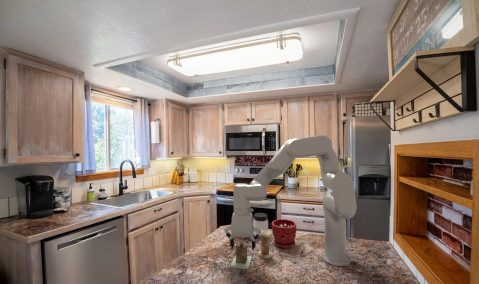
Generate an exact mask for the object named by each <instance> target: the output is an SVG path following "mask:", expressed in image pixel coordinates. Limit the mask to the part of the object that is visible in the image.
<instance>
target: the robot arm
mask: <svg viewBox="0 0 479 284" xmlns="http://www.w3.org/2000/svg"><path fill="white" fill-rule="evenodd" d="M308 157H316V158H317V160H318V164H319V169H320V175H321V182H322V185H323V187H324V188H326V189H328V190H329V191H328V192H327V193H325V194H324V196H323V198H322V209H323V215H324V216H323V217H324V225H323V226H324V251H323V252H322V253H321V256H320V257H321V259H322V260H323V261H324V262H325V263H327V264H329V265H332V266H337V267H347V266H349V265H350V264H351V260H352V259H355V260H358V259H359V255H358V254H357V253H354V252H353V251H348V250H347V249H348V248H347V219H348V220H349V219H351V218H353V217H354V216H355V215H356V212H357V209H358V207H357V198H356V192H355V186H354V185H355V184H354V181H353V179H352V177H351V176H350V175H349V174H348V173H347V172H344V171H341V169H340V163H339V158H338V156H337V153H336V151H335V150H334V149H333V141H332V140H331V138H330V137H329V136H327V135H323V134H320V135H312V136H309V137H308V136H307V137H300V138H299V137H298V138H290V139H287V140H286V141H285V142H284V143H283V144H282V145H281V147H280V148H279V149H278V151H277V152H276V153H275V154H274V155H273V157H271V159H270V161H269V162H268V163H266V165H264V167H263V168H262V169H261V170H260V171H258V173H257V175H255V177H254V178H253V179H252V181H251V182H250V183H249V184H247V183H236V184H234V185H233V189H232V191H233V213H232V216H231V223H230V225H229V226H227V227H226V228H224V229H223V231H224V233H225V235H226V237H227V238H228V240H229V246H230V249H232V250H233V249H234V247H235V238H234V237H239V238H240V237H245V238H250V239H251V251H254V250H255V249H256V245H257V244H256V242H257V241H256V240H258V239H259V238H260V237H259V235H260V233H261V230H259V229H258V228H256V227H254V225H253V219H254V216H253V213H254V209H253V208H251V202H250V201H255V202H256V201H257V202H261V201H264V200H265V199H266V198H267V195H268V190H267V187H268V186H269V184H270V183H271V182H272V181H273V180H274V179H276V178H278V177H281V176H282V175H283V174H285V173H286V171H287V170H288V168H289V167H291V165H292V163H293V162H294V161H295V160H296V158H297V159H298V158H308ZM252 212H253V213H252ZM229 231H230V232H229ZM254 231H256V232H257V235H256V236H255V235H254V234H253V233H254Z"/></svg>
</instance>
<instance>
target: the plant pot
mask: <svg viewBox="0 0 479 284" xmlns="http://www.w3.org/2000/svg"><path fill="white" fill-rule="evenodd" d="M280 225H282V226H280ZM271 232H272V237H273V243H274V245H275V246H277V247H278V248H282V249H291V248H293V247H294V246H295V245H296V241H295V239H296V237H297V223H296V222H295V221H293V220H292V219H286V218H282V219H281V218H279V219H275V220H273V221H272V222H271Z"/></svg>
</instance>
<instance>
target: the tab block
mask: <svg viewBox="0 0 479 284" xmlns="http://www.w3.org/2000/svg"><path fill="white" fill-rule="evenodd" d="M235 255H236V263H242V264H246V261H247V256H248V243H244V241H241V242H237V244H236V246H235Z"/></svg>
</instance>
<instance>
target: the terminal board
mask: <svg viewBox="0 0 479 284" xmlns="http://www.w3.org/2000/svg"><path fill="white" fill-rule="evenodd" d="M252 258H253V257H252V255H251V256H249V255H247V261H246V264H242V263H236V254H235V255H234V257H233V259H232V261H231V264H230V268H232V269H241V270H249V268H250V266H251V261H252Z"/></svg>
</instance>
